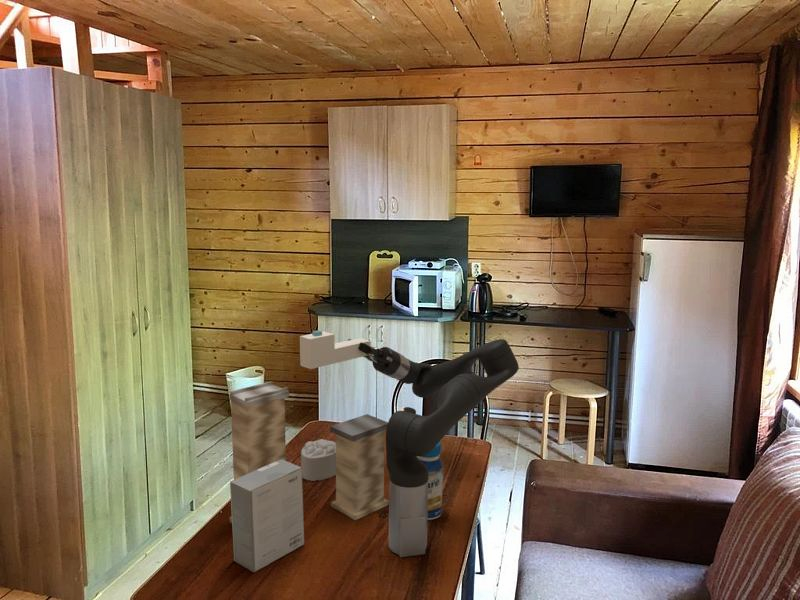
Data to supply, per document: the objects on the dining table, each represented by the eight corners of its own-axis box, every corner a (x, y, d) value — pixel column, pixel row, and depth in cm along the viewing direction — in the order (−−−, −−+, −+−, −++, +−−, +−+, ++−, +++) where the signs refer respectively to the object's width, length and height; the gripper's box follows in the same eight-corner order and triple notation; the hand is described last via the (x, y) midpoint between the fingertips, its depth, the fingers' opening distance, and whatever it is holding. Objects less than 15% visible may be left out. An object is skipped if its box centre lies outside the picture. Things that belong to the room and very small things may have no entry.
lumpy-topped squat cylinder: (345, 466, 201) (345, 440, 200) (322, 484, 190) (322, 455, 188) (316, 460, 206) (316, 433, 204) (292, 476, 194) (292, 449, 192)
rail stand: (272, 504, 177) (269, 380, 171) (292, 516, 171) (290, 388, 165) (229, 521, 168) (224, 391, 162) (248, 535, 162) (244, 400, 156)
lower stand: (365, 491, 185) (365, 413, 181) (390, 504, 178) (391, 423, 174) (329, 507, 176) (328, 425, 172) (353, 521, 169) (353, 436, 165)
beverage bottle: (445, 507, 177) (447, 437, 173) (438, 523, 169) (440, 450, 165) (415, 503, 179) (416, 433, 175) (406, 518, 171) (408, 445, 167)
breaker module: (360, 351, 189) (360, 320, 187) (370, 354, 185) (370, 323, 184) (300, 365, 174) (299, 332, 172) (310, 369, 171) (310, 335, 169)
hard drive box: (284, 533, 163) (282, 458, 159) (305, 544, 158) (304, 467, 155) (232, 561, 151) (229, 480, 147) (253, 574, 146) (250, 490, 143)
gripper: (404, 380, 189) (365, 361, 178) (370, 370, 199) (332, 351, 188) (413, 356, 191) (376, 336, 179) (379, 347, 201) (342, 327, 189)
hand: (353, 344), depth 183 cm, fingers closed on breaker module, 4 cm apart
